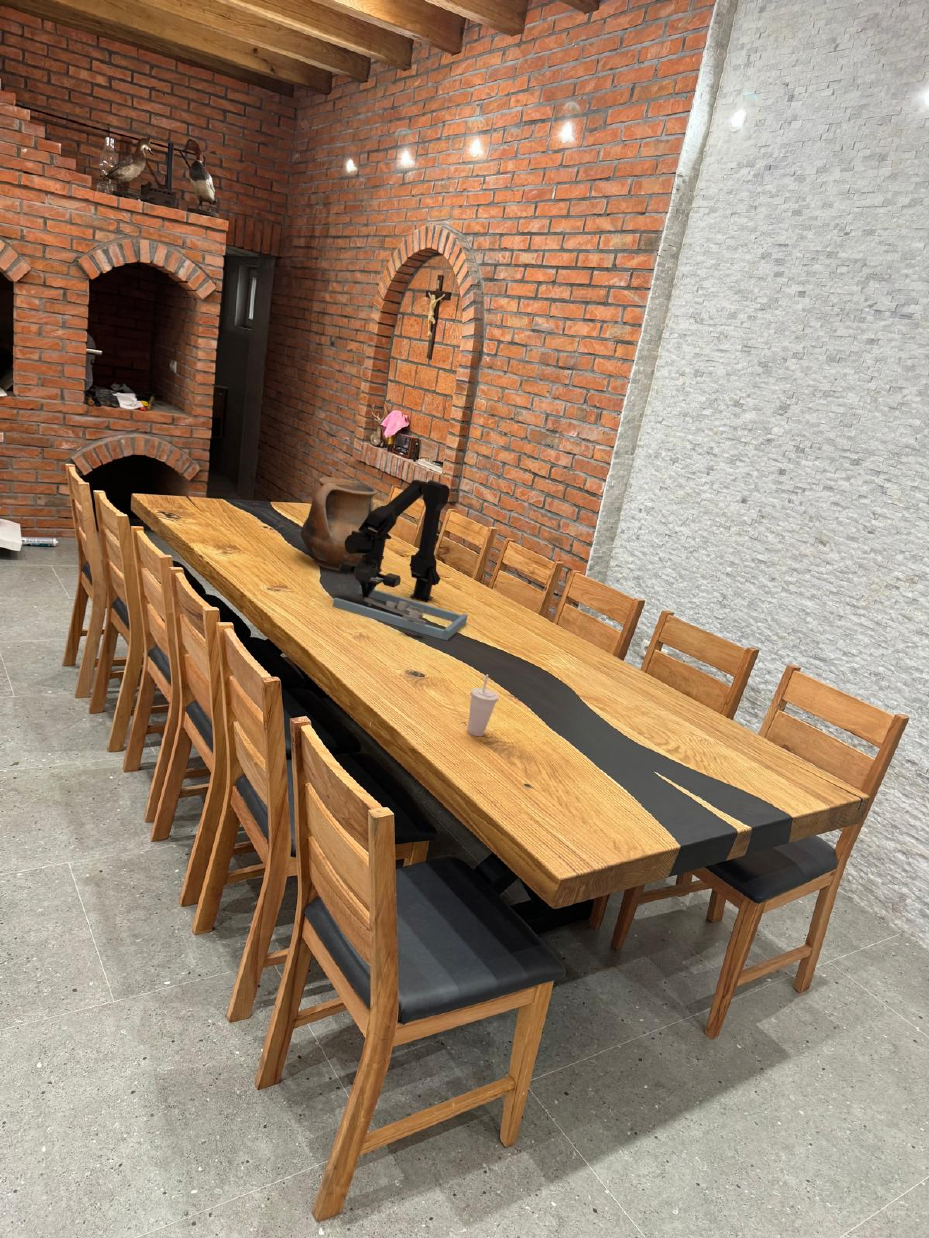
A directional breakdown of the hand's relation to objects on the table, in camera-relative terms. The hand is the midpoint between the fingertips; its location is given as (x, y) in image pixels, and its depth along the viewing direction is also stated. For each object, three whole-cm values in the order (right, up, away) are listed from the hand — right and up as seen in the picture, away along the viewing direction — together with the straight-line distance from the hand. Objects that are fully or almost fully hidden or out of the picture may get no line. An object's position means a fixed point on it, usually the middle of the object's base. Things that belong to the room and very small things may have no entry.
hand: (365, 600), depth 256 cm
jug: (-15, +14, +38) cm, 44 cm away
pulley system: (+12, -5, -8) cm, 16 cm away
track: (+11, -5, -2) cm, 12 cm away
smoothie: (+34, -32, -72) cm, 85 cm away
